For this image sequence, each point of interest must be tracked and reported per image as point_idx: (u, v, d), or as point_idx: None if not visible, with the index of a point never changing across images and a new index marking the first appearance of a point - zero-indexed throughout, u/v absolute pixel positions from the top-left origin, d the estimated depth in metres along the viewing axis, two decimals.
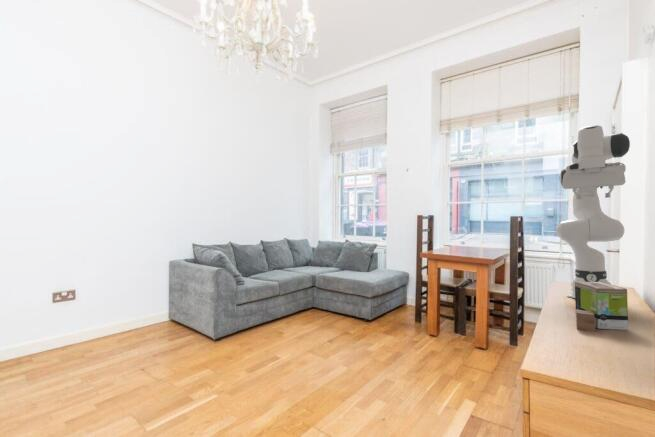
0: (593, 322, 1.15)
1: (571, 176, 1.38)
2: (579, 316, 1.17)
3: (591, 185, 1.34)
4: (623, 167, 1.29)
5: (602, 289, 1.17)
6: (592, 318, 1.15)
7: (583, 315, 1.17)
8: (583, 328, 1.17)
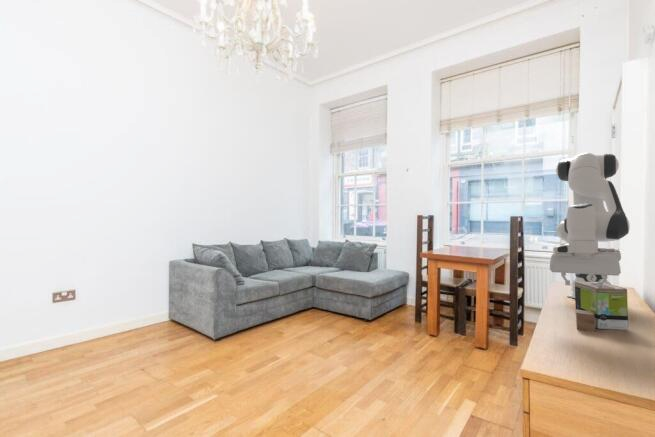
0: (593, 322, 1.15)
1: (559, 259, 1.21)
2: (579, 316, 1.17)
3: (582, 272, 1.17)
4: (618, 255, 1.13)
5: (602, 289, 1.17)
6: (592, 318, 1.15)
7: (583, 315, 1.17)
8: (583, 328, 1.17)
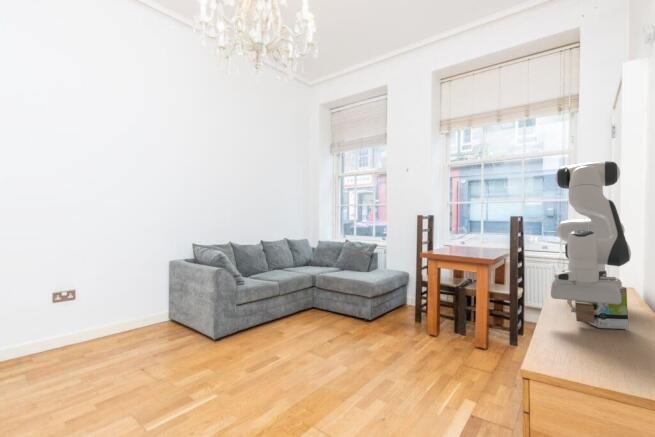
0: (592, 313, 1.16)
1: (560, 286, 1.22)
2: (578, 307, 1.18)
3: (583, 300, 1.18)
4: (619, 284, 1.13)
5: None
6: (592, 310, 1.16)
7: (583, 307, 1.17)
8: (582, 319, 1.18)
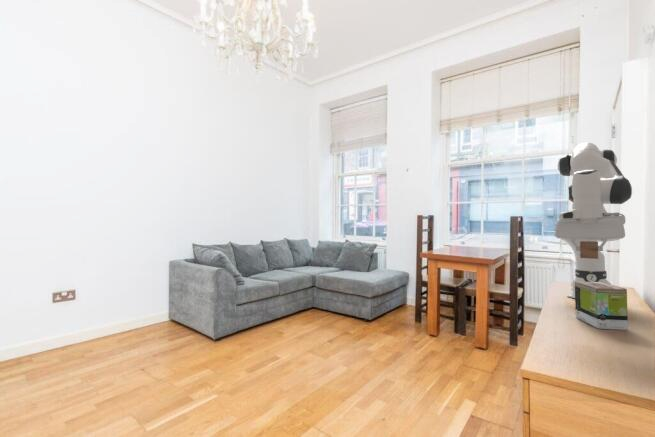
0: (596, 249, 1.18)
1: (564, 225, 1.24)
2: (583, 244, 1.21)
3: (587, 237, 1.20)
4: (623, 218, 1.15)
5: (602, 289, 1.17)
6: (596, 246, 1.18)
7: (587, 243, 1.20)
8: (586, 256, 1.20)
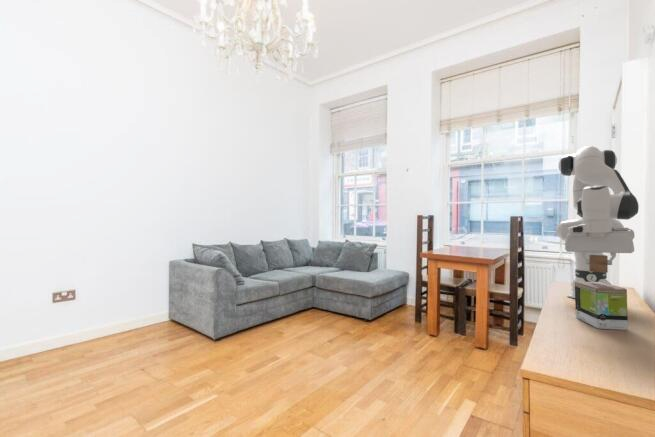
0: (606, 263, 1.21)
1: (574, 239, 1.27)
2: (592, 258, 1.23)
3: (596, 251, 1.23)
4: (632, 234, 1.18)
5: (602, 289, 1.17)
6: (605, 260, 1.21)
7: (597, 257, 1.22)
8: (596, 270, 1.22)
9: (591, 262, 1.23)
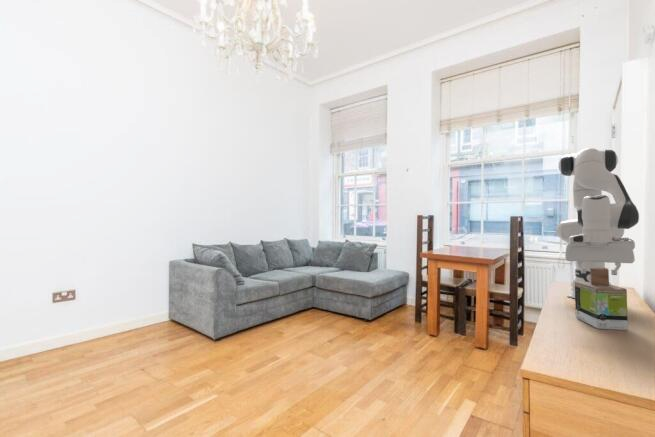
0: (607, 277, 1.21)
1: (574, 249, 1.27)
2: (593, 272, 1.23)
3: (597, 260, 1.23)
4: (632, 244, 1.18)
5: (601, 289, 1.17)
6: (606, 273, 1.21)
7: (597, 271, 1.22)
8: (597, 283, 1.22)
9: (592, 276, 1.23)
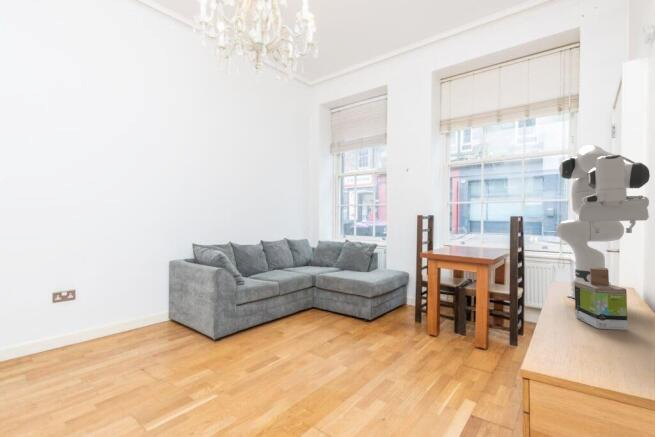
0: (607, 277, 1.21)
1: (588, 209, 1.29)
2: (593, 272, 1.23)
3: (611, 219, 1.25)
4: (646, 201, 1.20)
5: (601, 289, 1.17)
6: (606, 273, 1.21)
7: (597, 271, 1.22)
8: (597, 283, 1.22)
9: (592, 275, 1.23)
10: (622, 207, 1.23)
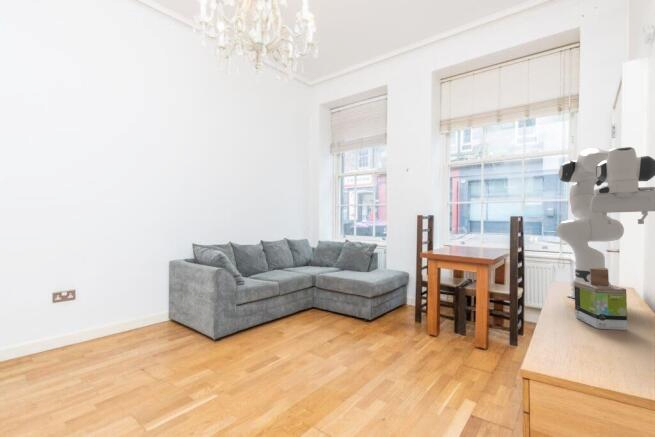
0: (607, 277, 1.21)
1: (600, 200, 1.30)
2: (593, 272, 1.23)
3: (623, 210, 1.26)
4: None
5: (601, 289, 1.17)
6: (606, 273, 1.21)
7: (597, 271, 1.22)
8: (597, 283, 1.22)
9: (592, 275, 1.23)
10: (634, 198, 1.24)
